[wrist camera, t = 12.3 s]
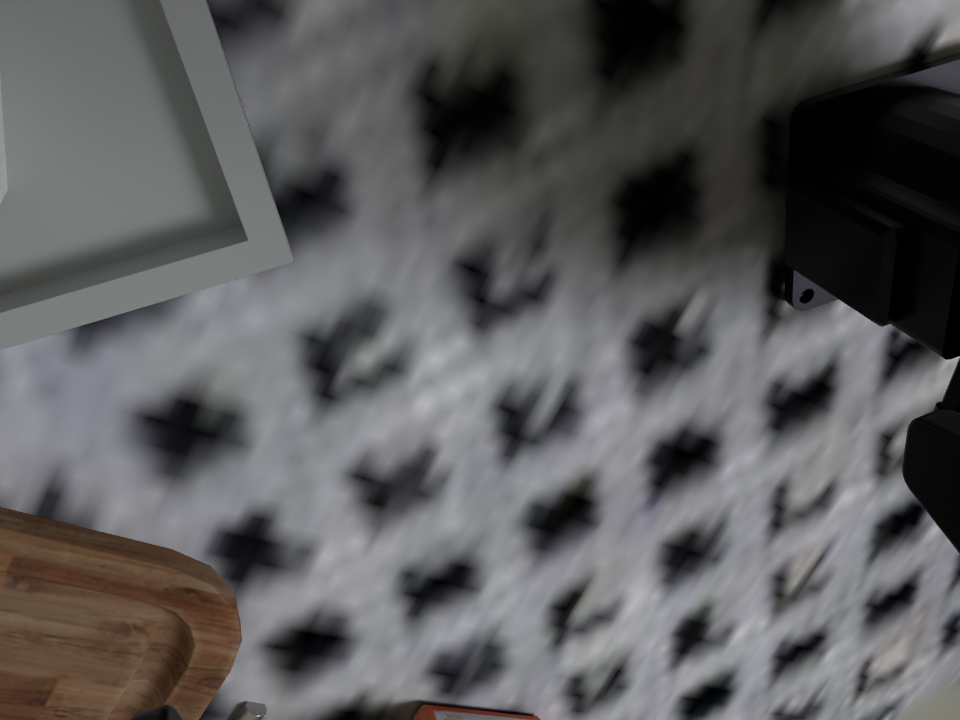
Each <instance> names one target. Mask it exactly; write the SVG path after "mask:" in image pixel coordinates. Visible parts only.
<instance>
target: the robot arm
mask: <svg viewBox="0 0 960 720" xmlns="http://www.w3.org/2000/svg"><path fill="white" fill-rule="evenodd" d="M814 112H815V116H814V119H813V121H812V122H811V123H810V124H809V125H808V119H809V117H810V116H811V114H812V113H814ZM784 261H785V264H786V270H785V300H786V301H787V303H788V304H789V305H791V306H792V307H794V308H795V309H797V310H800V311H803V310H808V309H811V308H814V307H817V306H819V305H822V304H825V303H828V302H831V301H834V300H837V299H839V300H841V301H842V302H844V303H845V304H847V305H848V306H850V307H851V308H853V309H854V310H856V311H857V312H859V313H860V314H862V315H864V316H865V317H867V318H868V319H870V320H871V321H873V322H874V323H876V324H877V325H879V326H882V327H883V326H886V325H888V324H892V325H893V326H895V327H896V328H898V329H899V330H901V331H902V332H904V333H905V334H907V335H909V336H910V337H912V338H913V339H915V340H916V341H918V342H919V343H921V344H923V345H924V346H926V347H927V348H929V349H930V350H932V351H933V352H935V353H937V354H938V355H940V356H941V357H943V358H944V359H946V360H947V359H953V358H955V357H958V356H960V53H959V54H956V55H953V56H949V57H946V58H943V59H939V60H936V61H932V62H929V63H926V64H922V65H919V66H916V67H912V68H909V69H905V70H902V71H899V72H895V73H892V74H889V75H885V76H882V77H878V78H875V79H872V80H868V81H865V82H862V83H858V84H855V85H851V86H848V87H845V88H841V89H838V90H835V91H831V92H828V93H824V94H821V95H818V96H814V97H811V98H808V99H806V100H804V101H802V102H800V103H799V104H798V105H797V107H796V108H795V110H794V111H793V113H792V117H791V121H790V151H789V181H788V187H787V198H786V228H785V259H784ZM804 290H806V291H805V293H804V294H803V295H802V296H801V297H800V295H801V294H802V292H803V291H804ZM902 472H903V477H904V480H905V482H906V484H907V486H908V488H909V489H910V491H911V492H912V493H913V494H914V496H915V497H916V498H917V500H918V501H919V502H920V503H921V505H922V506H923V507H924V509H925V510H926V511H927V512H928V514H929V515H930V516H931V517H932V519H933V520H934V521H935V523H936V524H937V525H938V526H939V528H940V529H941V530H942V532H943V533H944V534H945V535H946V537H947V538H948V539H949V540H950V542H951V543H952V544H953V546H954V547H955V548H956V549H957V551H958V552H959V553H960V359H959V361H958V363H957V366H956V368H955V371H954V373H953V375H952V378H951V380H950V383H949V385H948V388H947V390H946V392H945V395H944V397H943V400H942V402H938V403H937V404H936V406H935V409H934V411H933V412H931V413H928V414H926V415H923V416H920V417H918V418H915V419H914V420H912V422H911V423H910V424H909V426H908V430H907V437H906V444H905V451H904V458H903V465H902ZM130 720H182V718H181V717H180V715H179V714H178V712H177V711H176V709H175V708H174V707H173V706H171V705H169V704H165V705H161V706H158V707H156V708H153V709H150V710H148V711H145V712H142V713H140V714H137V715H135V716H133V717H132V718H131V719H130Z"/></svg>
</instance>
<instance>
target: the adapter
mask: <svg viewBox="0 0 960 720" xmlns="http://www.w3.org/2000/svg"><path fill="white" fill-rule="evenodd" d="M7 190H8V187H7V172H6V157H5V141H4V126H3V111H2V95H1V80H0V204H1V202H2V200H3V198H4V196H5V194H6V192H7Z"/></svg>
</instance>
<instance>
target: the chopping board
mask: <svg viewBox="0 0 960 720" xmlns="http://www.w3.org/2000/svg"><path fill="white" fill-rule="evenodd" d="M241 641H242V636H241V625H240V618H239V613H238V608H237V603H236V598H235V593H234V591H233V590H232V589H231V588H230V587H229V586H228V585H227V583H226V582H225V581H224V580H223V579H222V578H221V577H220V576H219V575H218V574H217V572H216V571H215V570H214V569H213V568H212V567H211V566H209V565H207V564H205V563H202V562H200V561H198V560H195V559H193V558H191V557H188V556H186V555H184V554H182V553H179V552H177V551H175V550H172V549H168V548H164V547H160V546H156V545H152V544H148V543H144V542H140V541H136V540H132V539H128V538H124V537H120V536H116V535H112V534H108V533H104V532H100V531H95V530H91V529H87V528H83V527H79V526H75V525H71V524H67V523H63V522H59V521H55V520H51V519H47V518H43V517H39V516H35V515H31V514H26V513H22V512H18V511H14V510H10V509H6V508H2V507H0V720H130V719H131V718H132V717H133V716H135V715H137V714H140V713H142V712H145V711H148V710H150V709H153V708H156V707H158V706H161V705H165V704H169V705H171V706H173V707H174V708H175V709H176V711H177V712H178V714H179V715H180V717H181V718H182V720H201V719H199V718H200V717H201V715H202V714H203V712H204V711H205V709H206V708H207V706H208V705H209V703H210V702H211V700H212V699H213V697H214V695H215V694H216V692H217V691H218V689H219V688H220V686H221V685H222V683H223V682H224V680H225V679H226V677H227V676H228V674H229V673H230V671H231V668H232V666H233V663H234V660H235V658H236V655H237V652H238V649H239V647H240V644H241ZM266 710H267V708H266V706H265V704H262V703H256V702H250V701H247V702H245V703H244V705H243V706H242V708H241V709H240V711H239V712H238V714H237V715H236V717H235V718H234V720H262V719H263V717H264V716H265V714H266Z"/></svg>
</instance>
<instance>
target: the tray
mask: <svg viewBox="0 0 960 720" xmlns="http://www.w3.org/2000/svg"><path fill="white" fill-rule="evenodd" d="M0 80H1V95H2V111H3V126H4V141H5V157H6V172H7V187H8V190H7V192H6V194H5V196H4V198H3V200H2V202H1V204H0V350H1V349H5V348H8V347H11V346H15V345H18V344H21V343H25V342H28V341H31V340H35V339H38V338H41V337H45V336H48V335H51V334H55V333H58V332H61V331H65V330H68V329H72V328H75V327H78V326H82V325H85V324H88V323H92V322H95V321H98V320H102V319H105V318H108V317H112V316H115V315H118V314H122V313H125V312H128V311H132V310H135V309H138V308H142V307H145V306H149V305H152V304H155V303H159V302H162V301H165V300H169V299H172V298H175V297H179V296H182V295H185V294H189V293H192V292H195V291H199V290H202V289H205V288H209V287H212V286H215V285H219V284H222V283H226V282H229V281H232V280H236V279H239V278H242V277H246V276H249V275H252V274H256V273H259V272H262V271H266V270H269V269H272V268H276V267H279V266H282V265H286V264H289V263H292V262H294V259H293V256H292V252H291V249H290V246H289V242H288V239H287V236H286V233H285V230H284V227H283V224H282V221H281V218H280V216H279V213H278V210H277V207H276V204H275V201H274V198H273V195H272V192H271V189H270V186H269V183H268V180H267V177H266V174H265V171H264V168H263V165H262V162H261V159H260V156H259V154H258V151H257V148H256V145H255V142H254V139H253V136H252V133H251V130H250V127H249V124H248V121H247V118H246V115H245V112H244V109H243V106H242V103H241V100H240V97H239V94H238V91H237V89H236V86H235V83H234V80H233V77H232V74H231V71H230V68H229V65H228V62H227V59H226V56H225V53H224V50H223V47H222V44H221V41H220V38H219V35H218V32H217V29H216V27H215V24H214V21H213V18H212V15H211V12H210V9H209V6H208V3H207V0H0Z"/></svg>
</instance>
